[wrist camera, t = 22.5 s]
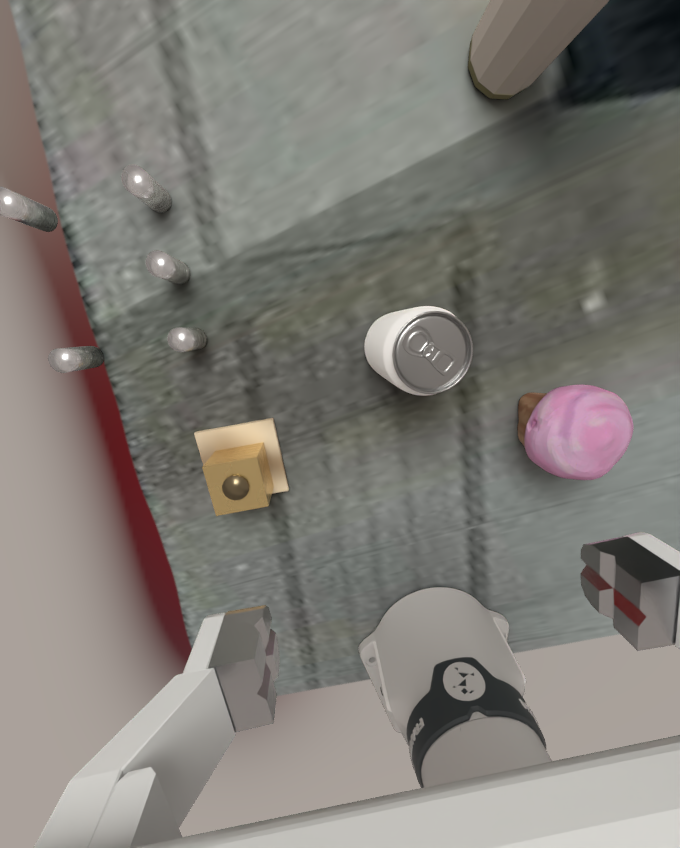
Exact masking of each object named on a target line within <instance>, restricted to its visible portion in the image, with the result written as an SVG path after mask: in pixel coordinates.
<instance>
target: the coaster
mask: <svg viewBox="0 0 680 848" xmlns="http://www.w3.org/2000/svg"><path fill="white" fill-rule="evenodd" d="M194 434H195V438H196V441H197V445H198V448H199V452H200V455H201V459H202V462H203V465H204V464H205V463H206V462H207V460H208V459H209V458H210V457H211V455H212V454H213V453H214V452H215V451H217V450H223V449H229V448H234V447H240V446H245V445H251V444H256V443H262V442H264V446H265V451H266V455H267V459H268V464H269V468H270V472H271V476H272V481H273V485H274V488H273V492H272V494H273V493H278V492H284V491H289V486H288V481H287V477H286V472H285V468H284V463H283V459H282V455H281V450H280V446H279V441H278V437H277V432H276V428H275V423H274V419H273V418H269V419H264V420H258V421H253V422H247V423H242V424H236V425H230V426H225V427H219V428H214V429H208V430H203V431H197V432H195V433H194Z"/></svg>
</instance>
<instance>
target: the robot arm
mask: <svg viewBox="0 0 680 848" xmlns="http://www.w3.org/2000/svg"><path fill="white" fill-rule="evenodd" d="M581 559H582V560H583V562H584V563H585V564H586V566H585V568H584V569H583V571H582V572H581V586H582V589H583V591H584V594H585V596H586V598H587V599H588V601H589V602H590V604H591V605H592V606H593V607H594V608H595V609H596V610H597V611H598V612H599V613H601V614H603V615H605V616H607V617H610V618H612V619H613V626H614V628H615V629H616V630H617V631H618V632H619V633H620V634H621V635H622V636H623V637H624V638H625V639H626V640H627V641H628V642H629V643H630V644H631V645H632V646H633V647H634V648H635V649H636V650H637V651H639V650H646V649H651V648H657V647H664V646H670V645H675V647H677V648H679V649H680V552H679V551H677V550H675V549H674V548H672V547H670V546H669V545H667V544H665V543H664V542H662V541H660V540H659V539H657V538H655V537H654V536H652V535H650V534H648V533H644V532H639V533H635V534H630V535H625V536H622V537H618V538H613V539H608V540H603V541H598V542H593V543H588V544H584V545H583V547H582V549H581ZM271 620H272V617H271V614H270V610H269V607H268V606H266V605H264V606H258V607H252V608H246V609H240V610H234V611H228V612H224V613H218V614H213V615H208V616H207V617H206V618H205V619H204V620H203V622H202V625H201V628H200V630H199V633H198V635H197V638H196V641H195V643H194V646H193V648H192V651H191V654H190V656H189V659H188V661H187V664H186V666H185V669H184V672H183V674H179V675H176V676H175V677H174V678H173V679H172V680H171V681H170V682H169V683H168V684H167V685H166V686H165V687H164V688H163V689H162V690H161V691H160V692H159V693H158V694H157V695H156V696H155V697H154V698H153V699H152V700H151V701H150V702H149V703H148V704H147V705H146V706H145V707H144V708H143V709H142V710H141V711H140V712H139V713H138V714H137V715H136V716H135V717H134V718H133V719H132V720H131V721H130V722H129V723H128V724H127V725H126V726H125V727H124V728H123V729H122V730H121V731H120V732H119V733H118V734H117V735H116V736H115V737H114V738H113V739H112V740H111V741H110V742H109V743H108V744H107V745H106V746H105V747H104V748H103V749H101V750H100V751H99V753H97V755H96V756H94V757H93V758H92V760H91V761H90V762H88V763H87V764H86V765H85V766H84V767H83V768H82V769H81V770H80V771H79V772H78V773H77V774H76V775H75V776H74V777H73V778H72V779H71V780H70V782H69V784H68V786H67V787H66V789H65V791H64V793H63V795H62V797H61V798H60V800H59V802H58V804H57V806H56V808H55V809H54V811H53V813H52V815H51V817H50V819H49V821H48V822H47V824H46V826H45V828H44V830H43V831H42V833H41V835H40V837H39V839H38V841H37V843H36V844H35V846H34V848H680V735H678V736H673V737H668V738H663V739H658V740H654V741H649V742H644V743H639V744H634V745H629V746H625V747H620V748H615V749H610V750H605V751H601V752H596V753H591V754H586V755H581V756H576V757H572V758H567V759H562V760H557V761H552V760H551V758H550V756H549V755H548V753H547V751H546V743H545V739H544V737H543V734H542V732H541V730H540V728H539V725H538V722H537V720H536V719H535V716H534V715H533V713H532V711H531V709H530V708H529V707H528V706H527V704H526V703H525V701H524V699H523V695H524V690H525V686H524V685H525V684H526V678H525V676H524V674H523V672H522V670H521V668H520V666H519V664H518V662H517V660H516V658H515V656H514V654H513V653H512V651H511V649H510V647H509V645H508V643H507V638H508V632H509V624H508V622H507V620H506V618H505V617H504V616H503V615H501V614H499V613H497V612H494V611H491V610H488V609H486V608H485V607H484V606H482V605H481V604H480V603H479V602H478V601H477V600H476V599H475V598H474V597H472V596H471V595H469V594H467V593H465V592H463V591H460V590H457V589H453V588H446V587H434V588H427V589H423V590H419V591H416V592H414V593H411V594H409V595H407V596H405V597H404V598H402V599H400V600H399V601H398V602H396V603H395V604H394V605H393V606H392V607H391V608H390V609H389V610H388V611H387V612H386V614H385V615H384V616H383V618H382V620H381V621H380V623H379V625H378V627H377V628H376V630H375V631H374V632H373V633H372V634H370V635H369V636H368V637H367V638H366V639H364V640H363V641H362V642H361V644H360V645H359V648H358V649H359V653H360V657H361V659H362V662H363V664H364V666H365V668H366V670H367V672H368V674H369V677H370V679H371V681H372V683H373V685H374V687H375V690H376V692H377V694H378V696H379V698H380V700H381V702H382V705H383V707H384V709H385V711H386V713H387V715H388V717H389V720H390V722H391V724H392V726H393V728H394V730H395V731H396V732H399V733H402V735H403V737H404V738H405V740H406V742H407V744H408V746H409V751H410V752H409V753H410V757H411V761H412V765H413V768H414V770H415V773H416V776H417V779H418V782H419V784H420V786H421V788H420V789H415V790H411V791H405V792H400V793H396V794H391V795H386V796H382V797H376V798H371V799H366V800H362V801H357V802H352V803H348V804H342V805H337V806H332V807H328V808H323V809H318V810H313V811H308V812H303V813H298V814H294V815H289V816H284V817H279V818H274V819H269V820H265V821H259V822H255V823H250V824H245V825H240V826H235V827H230V828H225V829H221V830H216V831H211V832H206V833H201V834H196V835H191V836H187V837H182V835H181V833H180V830H179V827H180V825H181V824H182V822H183V821H184V819H185V817H186V816H187V814H188V812H189V811H190V809H191V807H192V806H193V804H194V803H195V800H196V799H197V798H198V796H199V794H200V793H201V791H202V789H203V788H204V786H205V784H206V783H207V781H208V779H209V778H210V776H211V775H212V773H213V771H214V770H215V768H216V766H217V765H218V763H219V761H220V760H221V758H222V757H223V755H224V753H225V752H226V750H227V748H228V747H229V745H230V743H231V742H232V740H233V739H234V737H235V735H236V734H235V732H239V731H243V730H248V729H252V728H256V727H260V726H265V725H269V724H273V723H274V714H275V705H276V696H277V693H276V690H275V686H274V681H275V680H276V679H277V677H278V676H279V665H280V663H279V646H278V640H277V636H276V633H275V632H274V631H273V630H272V629H270V627H271ZM371 657H372V658H371Z"/></svg>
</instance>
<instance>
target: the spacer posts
mask: <svg viewBox="0 0 680 848" xmlns="http://www.w3.org/2000/svg"><path fill="white" fill-rule="evenodd" d="M121 178H122V183H123V185H124V187H125V188H126V189H127V190H128V191H129V192H130V193H131V194H133V195H134V196H136V197H137V198H138V199H140V200H141V201H142V202H144V203H145V204H146V205H148V206H149V207H150V208H152V209H153V210H154V211H156V212H159V213H163V212H166V211H168V210H169V208H170V207H171V196H170V194H169V193H168V192H167V191H166V190H165V189H164V188H163V187H162V186H161V185H160V184H159V183H158V182H157V181H156V180H155V179H154V178H153V177H151V176H150V175H149V174H148V173H147V172H146V171H145V170H144V169H143V168H142V167H140V166H138V165H128V166H127V167H125V168H124V170H123V172H122V176H121ZM0 215H1V216H4V217H7V218H9V219H12V220H15V221H18V222H21V223H23V224H26V225H29V226H32V227H35V228H37V229H40V230H43V231H46V232H50V231H53V230H54V229H55V228H56V227H57V224H58V220H57V216H56V214H55V213H54V212H53V210H52V209H50V208H48V207H46V206H44V205H42V204H39V203H37V202H35V201H33V200H31V199H29V198H26V197H24V196H22V195H20V194H18V193H15V192H13V191H11V190H9V189H7V188H4V187H0ZM146 267H147V269H148V271H149V272H150V273H151V274H152V275H154V276H156V277H159V278H162V279H165V280H168V281H171V282H174V283H177V284H184V283H186V282H187V281H188V280H189V278H190V270H189V267H188V266H187V265H186V264H185V263H184V262H182V261H180V260H178V259H176V258H174V257H172V256H170V255H168V254H166V253H164V252H162V251H158V250H156V251H152V252H150V253H149V254H148V256H147V258H146ZM168 343H169V345H170V347H171V348H172V349H174V350H175V351H178V352H185V351H191V350H196V349H201V348H203V347H204V346H205V345H206V343H207V335H206V334H205V332H204V331H203V330H201V329H199V328H174V329H172V330H171V331H170V332H169V334H168ZM48 360H49V363H50V365H51V367H52V368H53V369H54V370H56V371H58V372H61V373H65V372H71V371H76V370H83V369H89V368H94V367H98V366H100V365H101V364H102V363H103V361H104V356H103V353H102V352H101V350H100V349H98V348H97V347H94V346H86V347H72V348H59V349H54V350H53V351H51V352H50V354H49V358H48Z"/></svg>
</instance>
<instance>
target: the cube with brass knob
mask: <svg viewBox="0 0 680 848" xmlns="http://www.w3.org/2000/svg"><path fill="white" fill-rule="evenodd" d="M202 468H203V472H204V475H205V479H206V482H207V485H208V489H209V492H210V496H211V499H212V503H213V506H214V510H215V513H216V516H218V515H223V514H229V513H234V512H240V511H245V510H251V509H256V508H261V507H267V506H269V503H270V499H271V495H272V492H273V488H274V485H273V481H272V476H271V472H270V468H269V464H268V459H267V455H266V451H265V446H264V442H262V443H256V444H251V445H245V446H240V447H234V448H229V449H223V450H217V451H215V452H214V453H213V454H212V455H211V457H210V458H209V459H208V460H207V462H206V463H205V464H204V465H203V467H202Z"/></svg>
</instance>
